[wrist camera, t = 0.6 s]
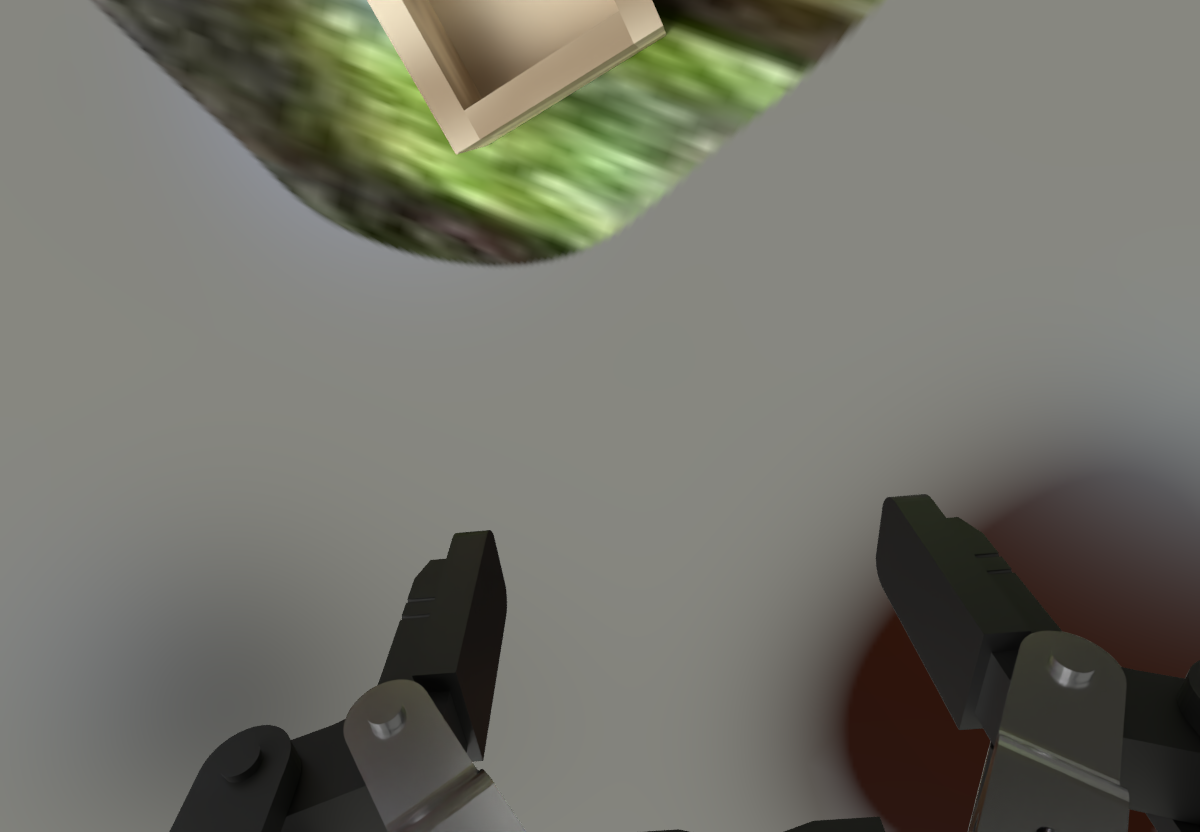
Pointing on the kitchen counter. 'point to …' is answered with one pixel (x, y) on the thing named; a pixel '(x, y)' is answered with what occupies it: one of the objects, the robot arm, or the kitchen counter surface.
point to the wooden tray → (509, 55)
